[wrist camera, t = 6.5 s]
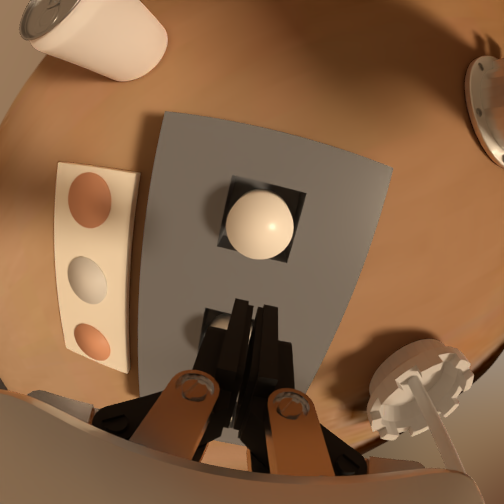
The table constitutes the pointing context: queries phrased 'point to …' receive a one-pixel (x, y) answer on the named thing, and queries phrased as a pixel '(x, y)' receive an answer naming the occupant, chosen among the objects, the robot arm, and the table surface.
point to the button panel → (234, 263)
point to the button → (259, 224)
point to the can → (97, 35)
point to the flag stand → (419, 393)
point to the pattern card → (95, 259)
